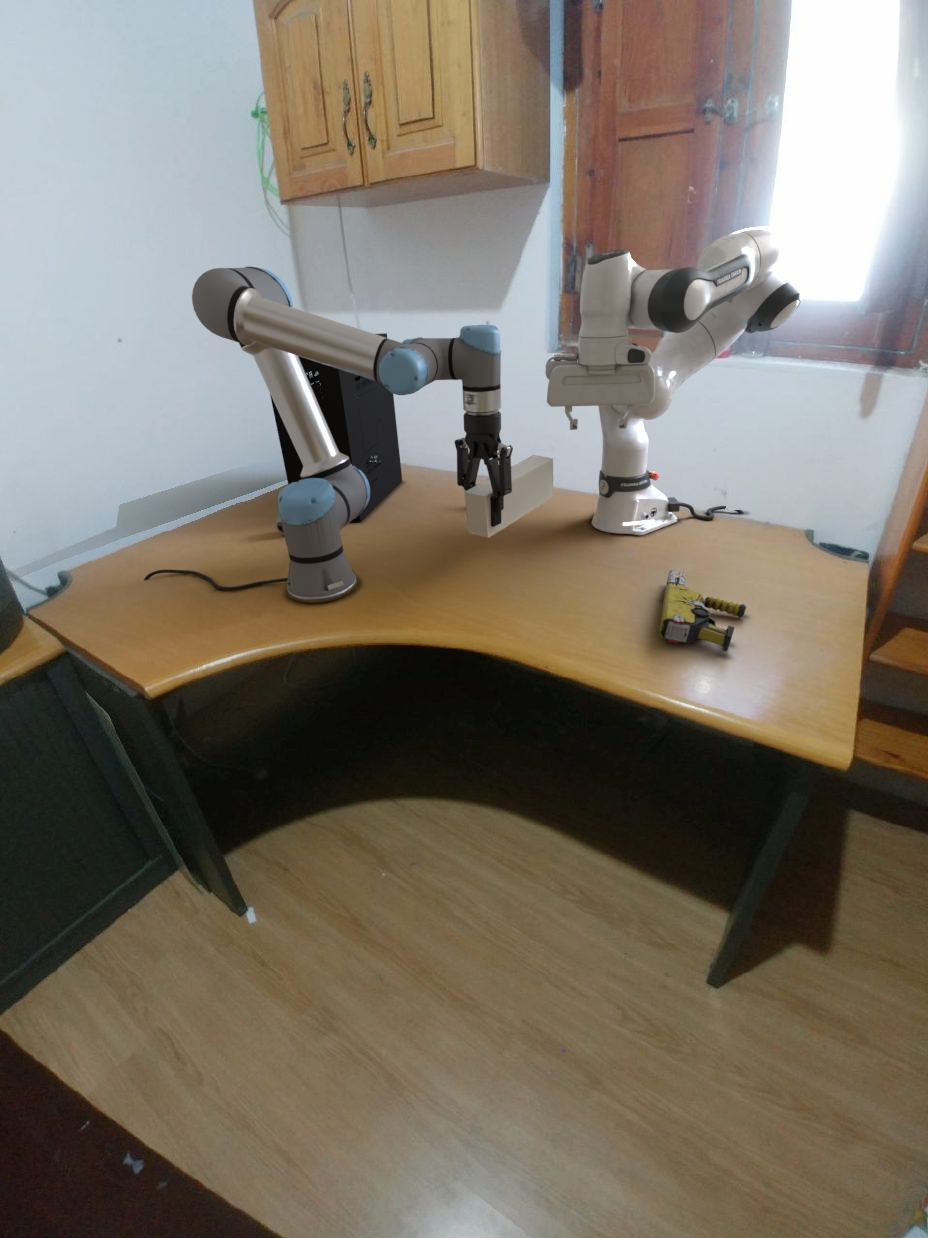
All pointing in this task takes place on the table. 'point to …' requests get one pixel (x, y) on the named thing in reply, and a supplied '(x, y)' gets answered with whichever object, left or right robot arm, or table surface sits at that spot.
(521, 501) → the bar
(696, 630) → the toy gun
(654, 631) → the table surface
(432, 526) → the table surface
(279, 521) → the eyeball
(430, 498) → the table surface
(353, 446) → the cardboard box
